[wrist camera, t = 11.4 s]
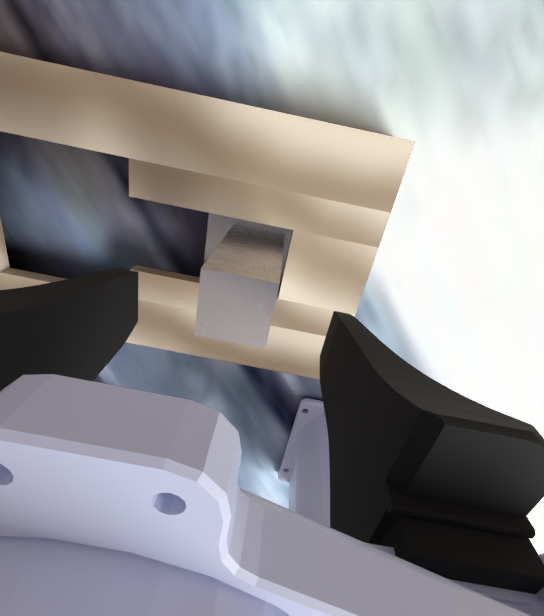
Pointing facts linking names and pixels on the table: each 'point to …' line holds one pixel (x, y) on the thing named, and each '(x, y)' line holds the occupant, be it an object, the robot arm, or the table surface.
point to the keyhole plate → (223, 195)
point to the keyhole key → (240, 280)
